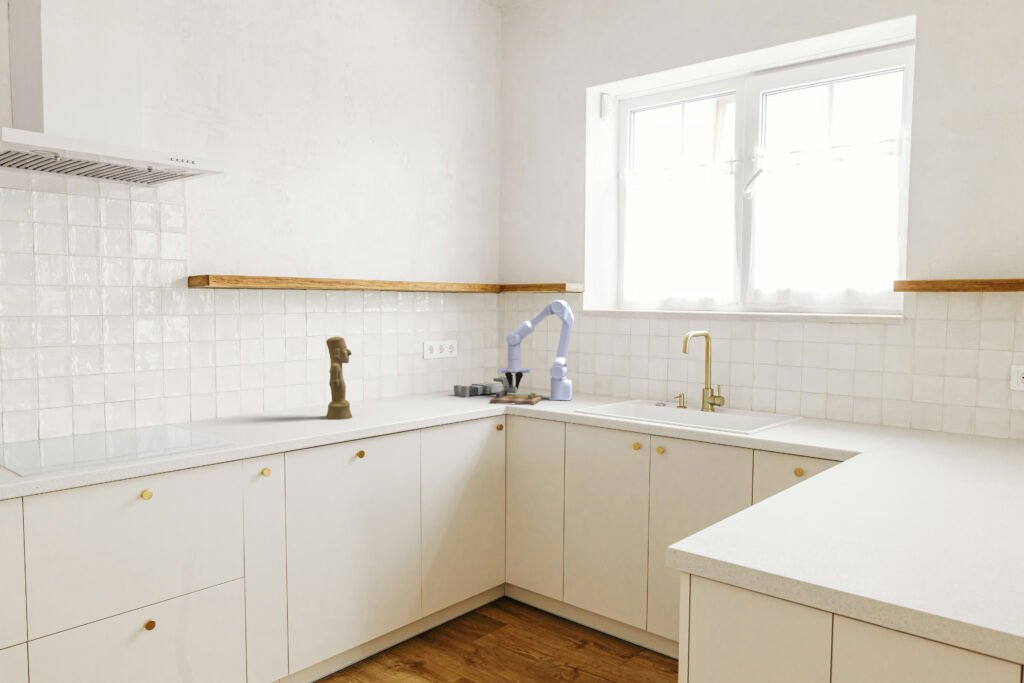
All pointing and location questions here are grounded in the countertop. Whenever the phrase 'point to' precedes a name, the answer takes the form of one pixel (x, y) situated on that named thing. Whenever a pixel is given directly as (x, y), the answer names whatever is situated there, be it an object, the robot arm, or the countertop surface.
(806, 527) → the countertop surface
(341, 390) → the statue
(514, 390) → the knobbed plate
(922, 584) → the countertop surface
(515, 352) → the robot arm
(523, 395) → the yellow rectangular block
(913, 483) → the countertop surface
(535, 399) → the brown wooden board
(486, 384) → the toy figure
